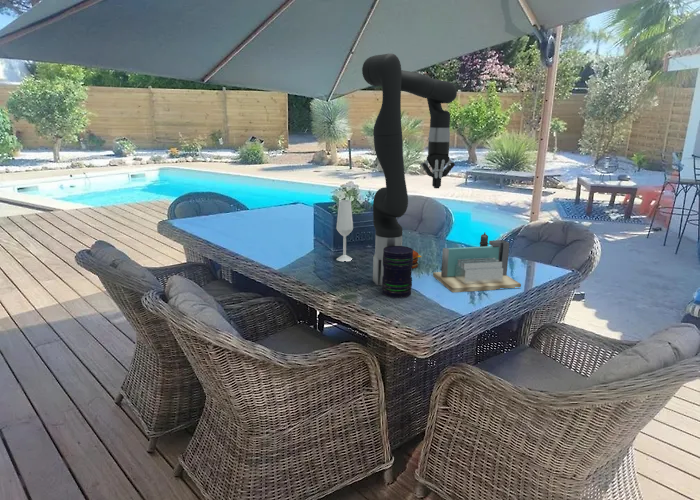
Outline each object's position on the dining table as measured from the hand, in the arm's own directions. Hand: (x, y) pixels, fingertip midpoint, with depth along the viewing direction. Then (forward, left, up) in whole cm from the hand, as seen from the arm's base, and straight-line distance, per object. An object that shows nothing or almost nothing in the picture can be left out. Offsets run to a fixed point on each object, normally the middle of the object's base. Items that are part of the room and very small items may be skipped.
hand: (436, 188), depth 189 cm
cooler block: (+12, -19, -29) cm, 37 cm away
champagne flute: (-31, +18, -31) cm, 48 cm away
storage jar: (-22, -25, -31) cm, 46 cm away
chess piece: (+24, +6, -31) cm, 40 cm away
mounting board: (+9, -19, -31) cm, 37 cm away
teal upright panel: (+8, -16, -29) cm, 34 cm away
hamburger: (-9, +5, -31) cm, 33 cm away
